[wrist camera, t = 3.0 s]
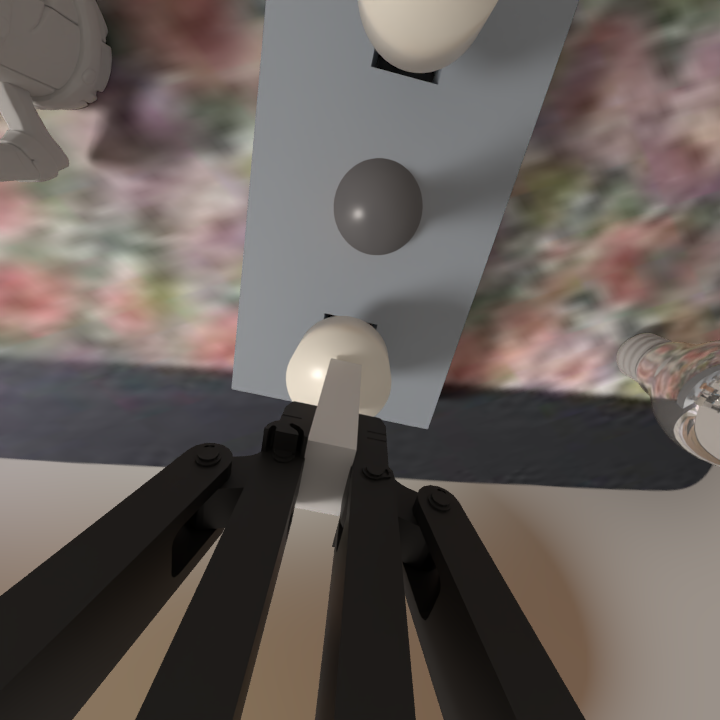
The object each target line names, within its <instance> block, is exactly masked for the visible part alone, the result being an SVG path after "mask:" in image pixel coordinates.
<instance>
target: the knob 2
mask: <svg viewBox="0 0 720 720" xmlns="http://www.w3.org/2000/svg"><path fill="white" fill-rule="evenodd" d="M497 2H498V0H358V7H359V13H360V17H361V21H362V24H363V27H364V30H365V32H366V34H367V37H368V38H369V40H370V42H371V44H372V45H373V47H374V48H375V49H376V51H377V52H378V53H379V54H380V55H381V56H382V57H383V58H384V59H385V60H386V61H387V62H389V63H390V64H391V65H393V66H395V67H397V68H399V69H401V70H404V71H407V72H412V73H428V72H433V71H436V70H439V69H442V68H444V67H446V66H448V65H449V64H451V63H453V62H454V61H456V60H457V59H458V58H459V57H460V56H461V55H463V54H464V52H465V51H466V50H467V49H468V48H469V47H470V46H471V44H472V43H473V42H474V40H475V39H476V37H477V36H478V34H479V32H480V31H481V29H482V27H483V26H484V24H485V22H486V21H487V19H488V17H489V15H490V14H491V12H492V10H493V9H494V7H495V5H496V4H497Z"/></svg>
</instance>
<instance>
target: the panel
mask: <svg viewBox="0 0 720 720" xmlns="http://www.w3.org/2000/svg"><path fill="white" fill-rule="evenodd" d="M578 2H579V0H498V2H497V4H496V5H495V7H494V9H493V10H492V12H491V14H490V15H489V17H488V19H487V21H486V22H485V24H484V26H483V27H482V29H481V31H480V32H479V34H478V36H477V37H476V39H475V40H474V42H473V43H472V44H471V46H470V47H469V48H468V49H467V50H466V51H465V52H464V54H463V55H461V56H460V57H459V58H458V59H457V60H456V61H454V62H453V63H451V64H449V65H448V66H446V67H444V68H442V69H439V70H436V71H435V73H434V77H433V81H432V83H430V82H426V81H422V80H419V79H415V78H411V77H408V76H404V75H400V74H396V73H393V72H389V71H385V70H382V69H378V68H376V63H377V58H378V52H377V51H376V49H375V48H374V47H373V45H372V44H371V42H370V40H369V38H368V37H367V34H366V32H365V30H364V27H363V24H362V21H361V17H360V13H359V7H358V0H266V7H265V18H264V30H263V41H262V52H261V63H260V75H259V86H258V97H257V109H256V120H255V131H254V142H253V154H252V165H251V176H250V187H249V199H248V210H247V221H246V232H245V244H244V255H243V266H242V278H241V289H240V300H239V311H238V323H237V334H236V345H235V356H234V368H233V379H232V389H234V390H239V391H244V392H249V393H254V394H259V395H263V396H268V397H273V398H278V399H283V400H288V401H292V400H291V398H290V396H289V393H288V390H287V386H286V371H287V367H288V364H289V362H290V359H291V358H292V356H293V354H294V352H295V350H296V349H297V347H298V345H299V343H300V341H301V340H302V338H303V336H304V334H305V333H306V332H307V331H308V330H309V329H310V328H311V327H312V326H313V325H314V324H316V323H317V322H319V321H321V320H323V319H326V318H328V314H331V315H335V316H350V317H354V318H358V319H360V320H363V321H365V322H367V323H371V324H373V325H372V327H373V328H375V330H376V331H377V332H378V333H379V334H380V335H381V337H382V338H383V340H384V342H385V345H386V347H387V352H388V358H389V365H390V372H391V391H390V395H389V397H388V400H387V402H386V404H385V405H384V407H383V408H382V409H381V411H380V412H379V413H378V414H377V415H375V416H374V417H377V418H380V419H381V420H385V421H390V422H395V423H400V424H405V425H410V426H414V427H419V428H424V429H428V427H429V424H430V421H431V418H432V415H433V412H434V410H435V407H436V404H437V401H438V398H439V396H440V393H441V390H442V387H443V384H444V381H445V379H446V376H447V373H448V370H449V367H450V364H451V362H452V359H453V356H454V353H455V350H456V347H457V345H458V342H459V339H460V336H461V333H462V330H463V328H464V325H465V322H466V319H467V316H468V314H469V311H470V308H471V305H472V302H473V299H474V297H475V294H476V291H477V288H478V285H479V282H480V280H481V277H482V274H483V271H484V268H485V265H486V263H487V260H488V257H489V254H490V251H491V248H492V246H493V243H494V240H495V237H496V234H497V231H498V229H499V226H500V223H501V220H502V217H503V215H504V212H505V209H506V206H507V203H508V200H509V198H510V195H511V192H512V189H513V186H514V183H515V181H516V178H517V175H518V172H519V169H520V166H521V164H522V161H523V158H524V155H525V152H526V149H527V147H528V144H529V141H530V138H531V135H532V132H533V130H534V127H535V124H536V121H537V118H538V116H539V113H540V110H541V107H542V104H543V101H544V99H545V96H546V93H547V90H548V87H549V84H550V82H551V79H552V76H553V73H554V70H555V67H556V65H557V62H558V59H559V56H560V53H561V50H562V48H563V45H564V42H565V39H566V36H567V33H568V31H569V28H570V25H571V22H572V19H573V17H574V14H575V11H576V8H577V5H578ZM373 158H385V159H390V160H393V161H396V162H398V163H400V164H401V165H403V166H404V167H405V168H406V169H408V170H409V171H410V172H411V174H412V175H413V176H414V178H415V179H416V181H417V183H418V185H419V188H420V191H421V194H422V201H423V210H422V217H421V221H420V224H419V226H418V228H417V231H416V232H415V234H414V235H413V237H412V238H411V239H410V241H409V242H408V243H406V244H405V245H404V246H403V247H401V248H400V249H398V250H397V251H395V252H392V253H389V254H385V255H369V254H365V253H362V252H360V251H358V250H356V249H355V248H353V247H352V246H351V245H349V244H348V243H347V242H346V240H345V239H344V238H343V237H342V235H341V234H340V232H339V230H338V227H337V225H336V222H335V218H334V198H335V194H336V190H337V188H338V185H339V183H340V181H341V180H342V178H343V177H344V175H345V174H346V173H347V172H348V171H349V170H350V169H351V168H352V167H354V166H355V165H357V164H358V163H360V162H362V161H365V160H368V159H373Z"/></svg>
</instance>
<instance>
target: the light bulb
mask: <svg viewBox="0 0 720 720" xmlns="http://www.w3.org/2000/svg"><path fill="white" fill-rule="evenodd" d="M616 360H617V364H618V367H619V369H620V370H621V372H622V373H624V374H625V375H627V376H629V377H630V378H632V379H634V380H635V381H637V382H638V383H639V385H640V387H641V388H642V389H643V390H644V391H645V392H646V393H647V394H648V395H649V396H650V400H651V405H652V409H653V412H654V415H655V418H656V420H657V422H658V423H659V425H660V426H661V428H662V429H663V431H664V432H665V434H666V435H667V436H668V437H669V438H670V439H671V440H672V441H673V442H675V443H676V444H677V445H678V446H679V447H680V448H682V449H683V450H684V451H686V452H688V453H689V454H691V455H693V456H694V457H696V458H699V459H701V460H703V461H705V462H708V463H710V464H713V465H715V466H718V467H720V340H718V341H710V342H706V343H701V344H690V343H686V342H672V341H670V340H667V339H665V338H663V337H660V336H658V335H655V334H652V333H642V334H638V335H636V336H634V337H632V338H630V339H628V340H627V341H626V342H624V343H623V344H622V345H621V347H620V348H619V350H618V353H617V358H616Z"/></svg>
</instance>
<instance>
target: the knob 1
mask: <svg viewBox="0 0 720 720" xmlns="http://www.w3.org/2000/svg"><path fill="white" fill-rule="evenodd" d="M331 358H333V359H338V360H342V361H347V362H352V363H356V364H361V365H362V370H361V386H360V402H359V414H363V415H368V416H372V417H374V416H375V415H377V414H378V413H379V412H380V411H381V409H382V408H383V407H384V405H385V404H386V402H387V400H388V397H389V395H390V391H391V372H390V365H389V358H388V352H387V347H386V345H385V342H384V340H383V338H382V337H381V335H380V334H379V333H378V332H377V331H376V330H375V328H373V327H372V326H371V325H370V324H368V323H366V322H365V321H363V320H360V319H358V318H354V317H350V316H333V317H329V318H326V319H323V320H321V321H319V322H317V323H316V324H314V325H313V326H312V327H311V328H310V329H309V330H308V331H307V332H306V333H305V334H304V336H303V338H302V340H301V341H300V343H299V345H298V347H297V349H296V350H295V352H294V354H293V356H292V358H291V359H290V362H289V364H288V367H287V371H286V386H287V390H288V393H289V396H290V398H291V400H292V402H293V401H296V402H301V403H306V404H311V405H315V406H317V405H318V402H319V398H320V395H321V391H322V388H323V384H324V381H325V377H326V374H327V370H328V367H329V363H330V360H331Z"/></svg>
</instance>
